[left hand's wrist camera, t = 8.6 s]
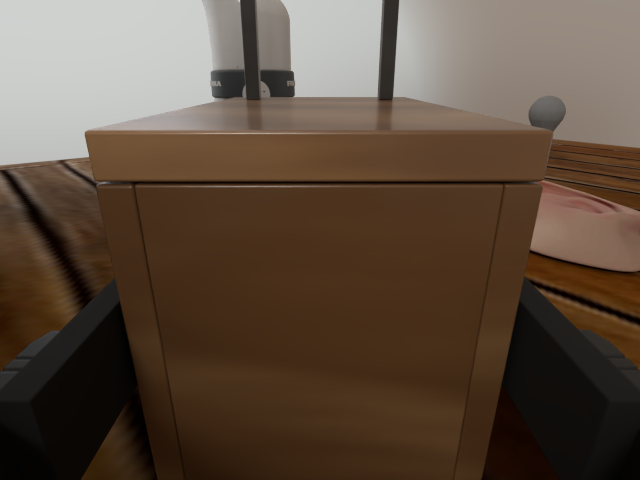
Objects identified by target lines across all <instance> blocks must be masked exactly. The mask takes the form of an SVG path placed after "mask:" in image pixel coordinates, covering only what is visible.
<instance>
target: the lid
mask: <svg viewBox="0 0 640 480" xmlns="http://www.w3.org/2000/svg"><path fill="white" fill-rule="evenodd" d="M240 9H241V25H242V40H243V56H244V71H245V87H246V97H234V98H230V99H225V100H221V101H216V102H212V103H207V104H203V105H198V106H194V107H189V108H185V109H180V110H176V111H171V112H167V113H162V114H158V115H154V116H149V117H144V118H140V119H136V120H131V121H127V122H122V123H118V124H113V125H109V126H104V127H100V128H95V129H91V130H87V131H86V132H85V138H86V143H87V148H88V152H89V157H90V162H91V166H92V171H93V176H94V179H95V181H98V182H540V181H543V179H544V177H545V172H546V167H547V162H548V158H549V153H550V148H551V143H552V139H553V131H551V130H548V129H543V128H539V127H534V126H530V125H525V124H521V123H516V122H512V121H508V120H503V119H499V118H494V117H490V116H485V115H481V114H476V113H472V112H468V111H463V110H459V109H454V108H449V107H445V106H441V105H436V104H432V103H428V102H423V101H419V100H414V99H410V98H405V97H393V88H394V72H395V56H396V40H397V25H398V9H399V0H383V2H382V22H381V41H380V62H379V81H378V97H261V79H260V59H259V39H258V20H257V0H240Z"/></svg>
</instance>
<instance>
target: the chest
mask: <svg viewBox="0 0 640 480" xmlns="http://www.w3.org/2000/svg"><path fill="white" fill-rule="evenodd" d="M96 190H97V195H98V200H99V205H100V209H101V214H102V219H103V223H104V228H105V233H106V238H107V242H108V247H109V252H110V256H111V261H112V266H113V271H114V275H115V280H116V285H117V290H118V294H119V299H120V304H121V308H122V313H123V318H124V323H125V327H126V332H127V337H128V342H129V346H130V351H131V356H132V360H133V365H134V370H135V375H136V379H137V384H138V389H139V394H140V398H141V403H142V408H143V412H144V417H145V422H146V427H147V431H148V436H149V441H150V445H151V450H152V455H153V460H154V464H155V469H156V474H157V479H158V480H482V475H483V470H484V465H485V461H486V456H487V451H488V446H489V442H490V437H491V432H492V427H493V423H494V418H495V413H496V408H497V404H498V399H499V394H500V389H501V384H502V380H503V375H504V370H505V365H506V361H507V356H508V351H509V346H510V342H511V337H512V332H513V327H514V323H515V318H516V313H517V308H518V304H519V299H520V294H521V289H522V285H523V280H524V275H525V270H526V266H527V261H528V256H529V251H530V247H531V242H532V237H533V232H534V228H535V223H536V218H537V213H538V209H539V204H540V199H541V194H542V190H543V185H541V184H539V183H537V182H103V183H100V184H98V185H97V186H96Z"/></svg>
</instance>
